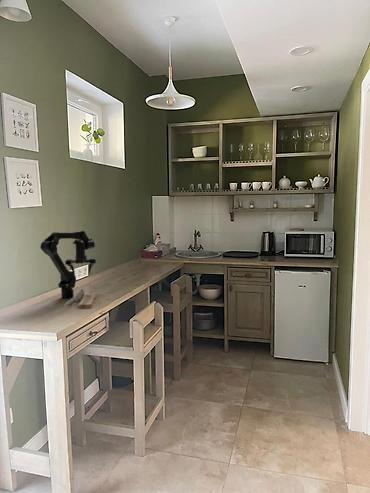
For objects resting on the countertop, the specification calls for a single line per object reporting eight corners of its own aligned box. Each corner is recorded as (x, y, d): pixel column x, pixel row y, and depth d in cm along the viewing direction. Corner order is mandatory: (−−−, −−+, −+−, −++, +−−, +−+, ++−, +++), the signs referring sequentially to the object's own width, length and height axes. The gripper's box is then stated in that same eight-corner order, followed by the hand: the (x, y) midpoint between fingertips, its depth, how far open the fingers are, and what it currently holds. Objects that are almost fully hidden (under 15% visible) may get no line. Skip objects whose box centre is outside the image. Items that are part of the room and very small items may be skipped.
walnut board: (78, 308, 208) (78, 304, 207) (84, 298, 231) (83, 294, 231) (91, 307, 209) (91, 303, 208) (95, 297, 232) (94, 294, 232)
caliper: (83, 298, 232) (82, 288, 232) (84, 298, 232) (84, 288, 232) (63, 307, 213) (62, 295, 212) (64, 307, 213) (64, 296, 212)
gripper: (63, 252, 234) (64, 277, 235) (94, 251, 236) (95, 276, 238) (66, 250, 245) (67, 274, 246) (95, 249, 247) (97, 273, 249)
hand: (81, 274), depth 245 cm, fingers open, 9 cm apart
